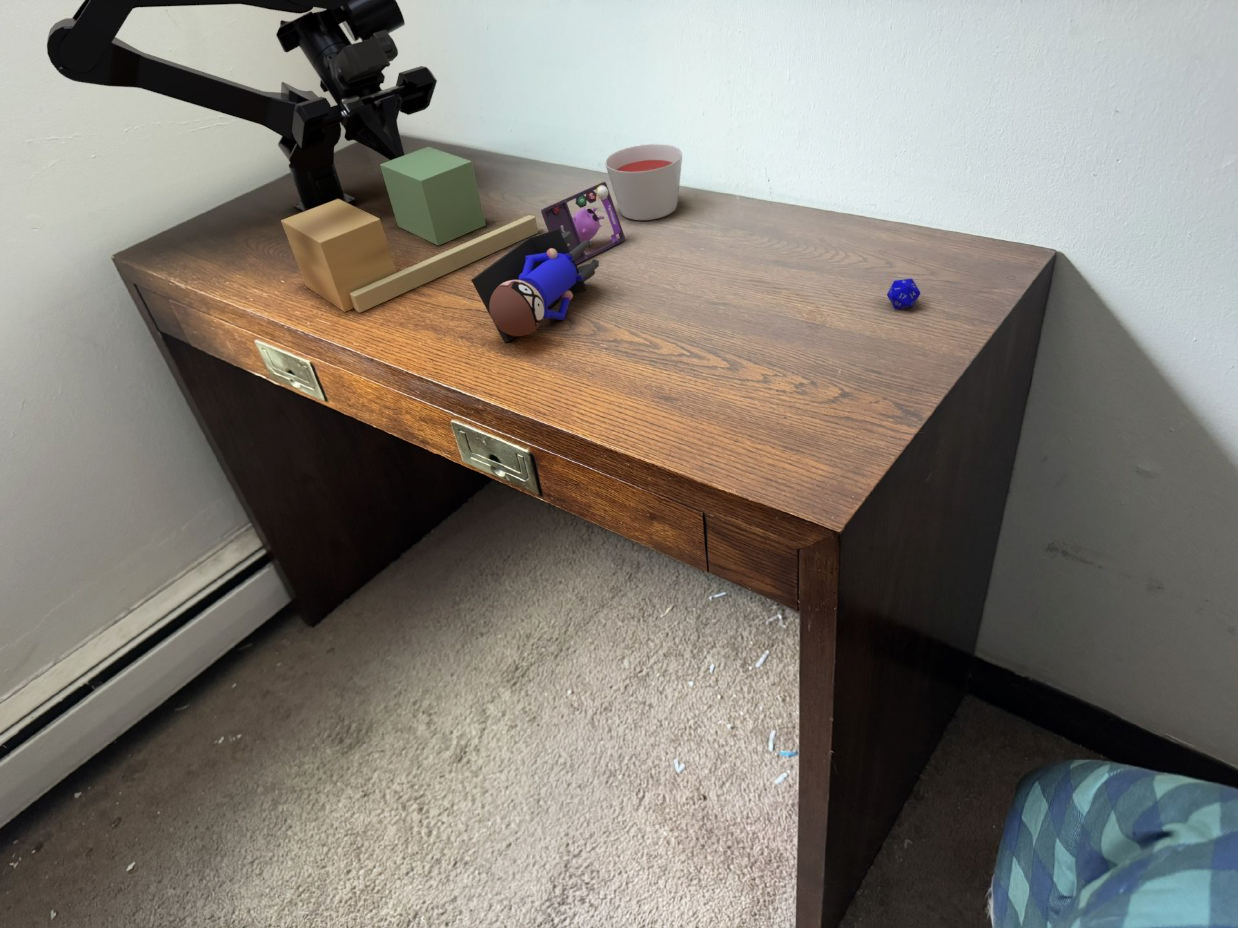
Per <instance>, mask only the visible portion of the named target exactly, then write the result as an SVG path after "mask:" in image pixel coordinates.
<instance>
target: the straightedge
mask: <svg viewBox="0 0 1238 928" xmlns="http://www.w3.org/2000/svg"><path fill="white" fill-rule="evenodd" d="M538 233H539V229H538V222H537V218H536V216H534V215H531V214H529V215H525V216H524V217H522V218H519V219H517V220H515V221H513V222H510V223H508V224H506V225H503V226H501V227H498V228H496V229H494V230H492V231H489V232H487V233H485V234H483V235H480V236H477V237H475V238H473V239H471V240H469V241H466V242H464V243H462V244H459V245H458V246H455V247H452V248H450V249H448V250H446V251H444V252H440V253H439V254H436V255H434V256H432V257H429V258H427V259H425V260H423V261H421V262H418V263H416V264H413V265H411V266H409V267H406V268H405V269H402V270H400V271H396V273H395V274H393V275H390V276H388V277H386V278H384V279H381V280H379V281H377V282H374V283H372V284H370V285H368V286H365V287H363V288H361V289H358V290H356V291H354V292H351V293H350V297H351V300H352V302H353V305H354V308H353V309H354V310H355V311H357V312H358V313H359V314H361V313H363V312H365V311H368V310H369V309H372V308H374V307H376V306H378V305H381V304H383V303H385V302H387V301H390V300H391V299H394V298H396V297H398V296H401V295H403V294H405V293H407V292H410V291H412V290H415V289H416V288H418V287H421V286H422V285H425V284H428V283H430V282H431V281H435V280H437V279H439V278H441V277H444V276H445V275H447V274H450V273H451V272H454V271H456V270H459V269H461V268H463V267H465V266H468V265H469V264H472V263H474V262H477V261H478V260H480V259H483V258H485V257H487V256H490V255H492V254H494V253H496V252H498V251H500V250H504V249H505V248H508V247H510V246H512V245H514V244H517V243H518V242H521V241H524V240H526V239H527V238H530V237H533V236H535V235H536V234H538Z"/></svg>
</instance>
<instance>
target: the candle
mask: <svg viewBox="0 0 1238 928" xmlns="http://www.w3.org/2000/svg"><path fill="white" fill-rule="evenodd" d="M682 163H683V151H682V150H681V149H680V148H679V147H677V146H674V145H670V144H666V143H665V144H664V143H645V144H638V145H633V146H628V147H625V148H622V149H619V150H617V151H615V152H613V153H611V154H610V155H608V156H607V158H606V159H605V161H604V165H605V169H606V172H607V174H608V177H609V181H610V185H611V187H612V191H613V194H614V197H615V200H616V203H617V206H618V210H619V212H620V214H621V216H623V217H624V218H626V219H629V220H633V221H651V220H657V219H661V218H664V217H667V216H668V215H671V214H673V212H675V210H676V209H677V207H678V203H679V195H680V186H681V185H680V183H681V174H682Z"/></svg>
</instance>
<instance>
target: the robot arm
mask: <svg viewBox="0 0 1238 928" xmlns="http://www.w3.org/2000/svg"><path fill="white" fill-rule="evenodd" d="M219 5H220V6H222V5H225V6H226V5H245V6H250V7H255V8H261V9H266V10H271V11H277V12H283V13H291V14H301V16H299V17H297V18H295V19H292V20H289V21H288V20H284V19H282V20H280V21H279V27H278V29H277V31H276V33H275V34H276V38H277V41H278V43H279V44H280V47H281V48H282V51H283V52H284V53H290V52H291V51H293V50H295V49H297V48H300V50H301V51H302V53H303V55H304V56H305V58H306V59H307V61H308V62H309V64H310V65H311V67H312V68H313V70H314V71H315V73H316V74H317V76H318V78H319V79H320V82H319V87H320V89H321V90H322V92H323V93H327V92H328V93H329V94H330V96H331V97H332V99H333V100H334V102H335V105H332V106H331V104H330V102H329V100H328V99H327V98H326V97H324V96H319V95H317V94H316V93H315V92H314V91H313V90H301V89H299V88H297V87H294V86H292V85H290V84H288V83H286V82H284V81H282V82H281V83H280V84H281V85H280V91H279V92H277V91H263V90H260V89H257V88H254V87H251V86H248V85H245V84H242V83H239V82H236V81H233V80H230V79H227V78H223V77H222V76H221V77H220V76H218V75H214V74H211V73H208V72H206V71H203V70H198V69H196V68H193V67H189V66H186V65H183V64H180V63H178V62H174V61H171V60H167V59H165V58H162V57H159V56H155V55H152V54H149V53H146V52H144V51H141V50H140V49H137V48H136V47H134V46H132V45H130V43H129V44H128V43H127V42H126V41H124V40H122V39H120V38H118V37H116V36H117V35H118V33H119V31H120V30H121V28H122V26H123V25H124V23H125V22H126V20H127V18H128V17H129V15H130V14H131V13H132V11H133V10H134V9H137V8H157V7H158V8H163V7H164V8H165V7H192V6H193V7H195V6H196V7H197V6H219ZM314 8H317V9H323V10H321V11H315V12H314V11H313V9H314ZM302 14H303V15H302ZM341 24H342V25H343V27H344V28H345V30H346V33H347V34H348V35H349V37H350V38H351V39H352V41H353V42H355V43H352V42H351V40H350V39H349V37H348V36H347V34H346V33H345V31H344V30H343V27H341ZM404 26H406V23H405V18H404V15H403V13H402V10H401V8H400V6H399V4H398V2H397V0H84V1H83V2H82V3H81V5H80V6H79V7H78V9H77V10H76V11H75V13H74V14H73V16H72V17H70V18H68V17H67V18H63V19H61V20H59V21H57V22H55V23H54V24H53V25H52V26H51V28H50V29H49V32H48V35H47V41H46V51H47V56H48V59H49V61H50V63H51V65H52V66H53V67H54V68H55V70H56V71H58V73H59V74H60V75H61V76H63V77H64V78H66V79H69V80H70V81H73V82H76V83H77V82H78V83H82V84H90V85H97V86H105V87H114V88H115V87H116V88H136V89H141V90H146V91H148V92H151V93H156V94H158V95H162V96H165V97H168V98H171V99H175V100H179V101H181V102H185V103H188V104H191V105H194V106H198V107H202V108H204V109H208V110H210V111H215V112H217V113H221V114H224V115H228V116H231V117H234V118H236V119H241V120H245V121H247V122H251V123H254V124H258V125H260V126H263V127H265V128H267V129H269V130H270V131H272V132H274V133H276V134H278V135H280V136H281V137H280V139H279V141H278V142H277V146H278V148H279V149H280V151H281V152H282V153H283V155H284V156H285V158H286V159H287V160H288V162H289V163H288V168H289V171H290V175H291V176H292V180H293V182H294V185H295V188H296V190H297V193H298V196H299V200H300V201H299V202H296V203H293V207H294V209H296V210H297V211H299V212H300V213H302V212H305V211H307V210H310V209H313V208H315V207H318V206H320V205H323V204H326V203H328V202H331V201H334V200H336V199H340V200H342V201H344V202H346V203H348V204H350V205H352V204H355V203H356V198H355V197H353V196H351V195H350V194H347V193H344V190H343V186H342V184H341V181H340V178H339V174H338V172H337V171H338V170H337V168H336V165H335V147H336V145H337V144H338V143H339V141H340V139H341V136H342V127H343V128H344V130H345V132H344V139H345V141H346V142H351V141H355V142H357V143H359V144H361V145H363V146H365V147H366V148H369V149H370V150H373V151H375V152H376V153H378V154H379V155H381V156H383V157H384V158H385V159H387V160H388V161H391V160H393V159H396V158H399V157H401V156H404V155H406V154H405V151H404V147H403V142H402V139H401V134H400V130H399V125H398V117H399V113H402V114H405V115H407V116H410V115H413V114H417V113H419V112H422V111H425V110H426V109H427V108H428V107H430V105H431V102H432V98H433V95H434V92H435V89H436V86H437V83H438V80H437V78H436V76H435V75H434V74H433V72H432V70H430V69H429V68H428V67H427V66H423V65H420V66H416V67H413V68H410V69H407V70H404V71H403V70H402V71H401V72H398V75H397V78H396V83H395V85H394V86H391V87H389V88H385V89H382V88H381V85H382V84H384V83H385V78H386V76H385V74H384V73H383V71H384V70H385V69H386V68H389V67H390V66H391V63H390V62H393V61H394V60H395V59H396V58H397V57H398V55H399V50H398V47H397V45H396V43H395V40H394V39H393V38H392V36H391V35H390V34H391V33H392V32H394V31H396V30H398V29H401V27H404ZM359 40H361V41H359ZM357 41H359V42H357Z"/></svg>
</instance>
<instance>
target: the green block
mask: <svg viewBox="0 0 1238 928" xmlns="http://www.w3.org/2000/svg"><path fill="white" fill-rule="evenodd" d="M379 166H380V167H379V168H380V170H381V173H382V177H383V181H384V184H385V187H386V190H387V194H388V197H389V200H390V204H391V207H392V211H393V215H394V218H395V221H396V224H397V227H398V228H400V229H402V230H404V231H407V232H409V233H411V234H413V235H415V236H417V237H419V238H421V239H424V240H426V241H427V242H429V243H431V244H434V245H436V246H437V247H439V246H441V245H443V244H446V243H448V242H451V241H453V240H455V239H457V238H460V237H462V236H465V235H467V234H470V233H472V232H474V231H477V230H479V229H481V228H483V227H485V226H487V224H486V219H485V215H484V211H483V206H482V202H481V198H480V193H479V188H478V184H477V180H476V176H475V175H476V174H475V170H474V167H473V161H471V160H469V159H466V158H464V157H461V156H457V155H455V154H451V153H448V152H446V151H443V150H440V149H436V148H434V147H432V146H426V147H424V148H421V149H418V150H415V151H411V152H410V153H407V154H405V155H404V156H401V157H399V158H396V159H393V160H388V161H385V162H383V163H380V164H379Z"/></svg>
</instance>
